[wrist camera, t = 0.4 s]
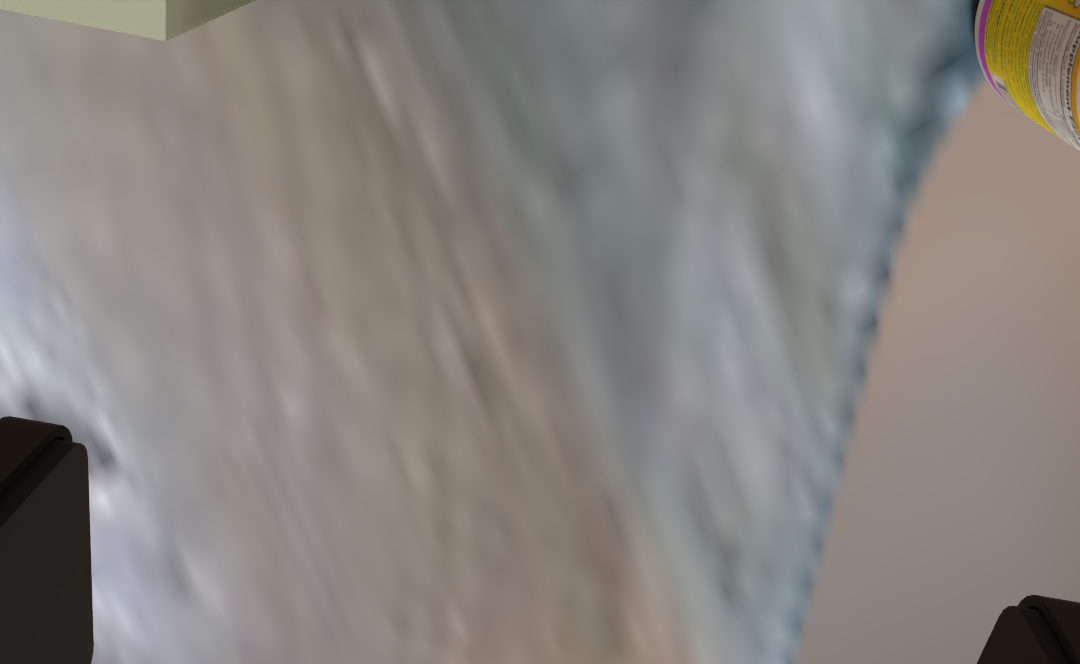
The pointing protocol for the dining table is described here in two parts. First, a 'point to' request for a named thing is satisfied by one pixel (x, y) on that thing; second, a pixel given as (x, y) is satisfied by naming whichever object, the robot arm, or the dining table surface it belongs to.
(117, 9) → the end cap
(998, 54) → the supplement bottle
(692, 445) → the dining table surface
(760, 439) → the dining table surface
